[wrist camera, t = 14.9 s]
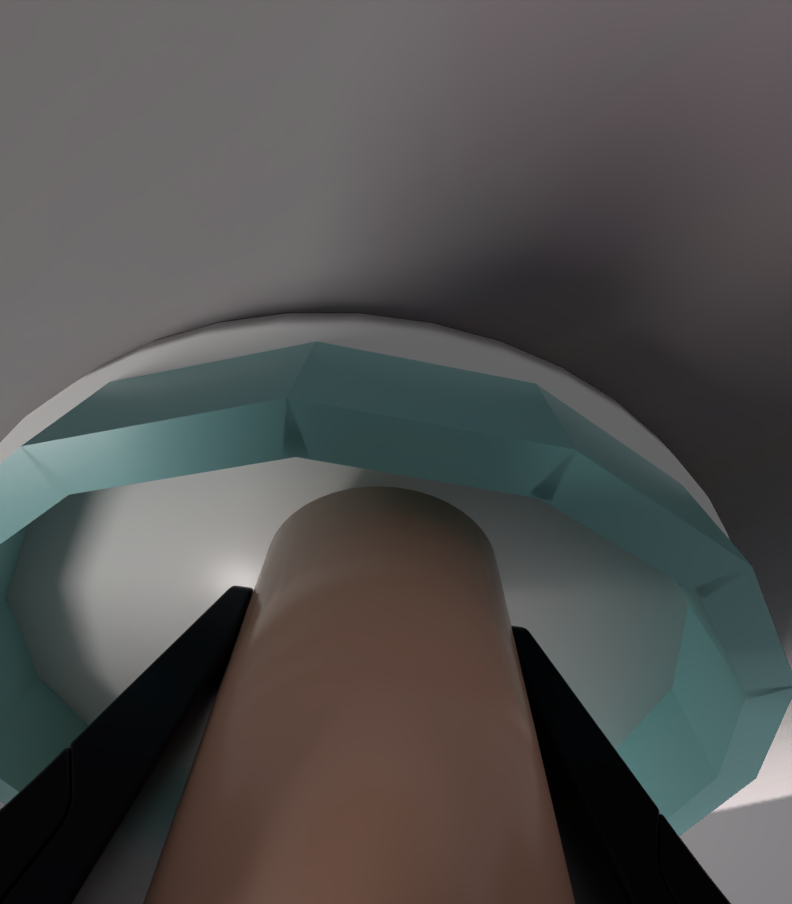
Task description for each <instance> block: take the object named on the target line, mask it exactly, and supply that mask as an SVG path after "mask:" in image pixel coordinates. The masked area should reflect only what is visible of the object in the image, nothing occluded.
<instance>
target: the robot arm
mask: <svg viewBox="0 0 792 904" xmlns="http://www.w3.org/2000/svg"><path fill="white" fill-rule="evenodd" d="M252 594H253V589H252V588H250V587H243V586H232V587H230V588H229V589H228V590H227V591H226V592H225V593H224V594H223V595H222V596H221V597H220V598H219V599H218V600H217V601H216V602H215V603H214V604H213V605H211V606H210V607H209V608H208V609H207V610H206V611H205V612H204V613H203V614H202V615H201V616H200V617H199V618H198V619H197V620H196V621H195V622H194V623H193V624H192V625H191V626H190V627H189V628H188V629H187V630H186V631H185V632H184V633H183V634H182V635H181V636H180V637H179V638H178V639H177V640H176V641H175V642H174V643H173V644H172V645H170V646H169V647H168V648H167V649H166V650H165V651H164V652H163V653H162V654H161V655H160V656H159V657H158V658H157V659H156V660H155V661H154V662H153V663H152V664H151V665H150V666H149V667H148V668H147V669H146V670H145V671H144V672H143V673H142V674H141V675H140V676H139V677H138V678H137V679H136V680H135V681H134V682H133V683H132V684H131V685H130V686H128V687H127V688H126V689H125V690H124V691H123V692H122V693H121V694H120V695H119V696H118V697H117V698H116V699H115V700H114V701H113V702H112V703H111V704H110V705H109V706H108V707H107V708H106V709H105V710H104V711H103V712H102V713H101V714H100V715H99V716H98V717H97V718H96V719H95V720H94V721H93V722H92V723H91V724H90V725H89V726H87V727H86V728H85V729H84V730H83V731H82V732H81V733H80V734H79V735H78V736H77V737H76V738H75V739H74V740H73V741H72V742H71V744H70V748H69V747H67V748H65V749H64V750H63V751H62V752H61V753H60V754H58V755H57V756H56V757H55V758H54V759H53V760H52V761H51V762H50V763H49V764H48V765H47V766H46V767H45V768H44V769H43V770H42V771H41V772H40V773H39V774H38V775H37V776H36V777H35V778H34V779H33V780H32V781H30V782H29V783H28V784H27V785H26V786H25V787H24V788H23V789H22V790H21V791H20V792H19V793H18V794H17V795H15V796H14V797H13V798H12V799H11V800H10V801H9V802H8V803H7V804H6V805H5V806H4V807H3V808H1V809H0V904H143V903H144V900H145V897H146V894H147V891H148V888H149V886H150V883H151V880H152V877H153V874H154V871H155V869H156V866H157V863H158V860H159V857H160V854H161V852H162V849H163V846H164V843H165V840H166V838H167V835H168V832H169V829H170V826H171V823H172V821H173V818H174V815H175V812H176V809H177V806H178V804H179V801H180V798H181V795H182V792H183V789H184V787H185V784H186V781H187V778H188V775H189V772H190V770H191V767H192V764H193V761H194V758H195V755H196V753H197V750H198V747H199V744H200V741H201V738H202V736H203V733H204V730H205V727H206V724H207V722H208V719H209V716H210V713H211V710H212V707H213V705H214V702H215V699H216V696H217V693H218V690H219V688H220V685H221V682H222V679H223V676H224V673H225V671H226V668H227V665H228V662H229V659H230V656H231V654H232V651H233V648H234V645H235V642H236V639H237V637H238V634H239V631H240V628H241V625H242V622H243V620H244V617H245V614H246V611H247V608H248V606H249V603H250V600H251V597H252ZM512 630H513V635H514V639H515V643H516V648H517V652H518V656H519V661H520V665H521V670H522V674H523V678H524V683H525V687H526V691H527V696H528V700H529V704H530V709H531V713H532V717H533V722H534V726H535V730H536V735H537V739H538V743H539V748H540V752H541V756H542V761H543V765H544V769H545V774H546V778H547V782H548V787H549V791H550V795H551V800H552V804H553V808H554V813H555V817H556V821H557V826H558V830H559V835H560V839H561V843H562V848H563V852H564V856H565V861H566V865H567V869H568V874H569V878H570V882H571V887H572V891H573V895H574V900H575V904H731V903H730V902H729V901H728V899H727V898H726V897H725V896H724V894H723V893H722V892H721V891H720V889H719V888H718V887H717V886H716V884H715V883H714V882H713V881H712V879H711V878H710V877H709V876H708V874H707V873H706V872H705V870H704V869H703V868H702V866H701V865H700V864H699V862H698V861H697V860H696V858H695V857H694V856H693V854H692V853H691V852H690V851H689V849H688V848H687V846H686V845H685V844H684V842H683V841H682V840H681V838H680V837H679V836H678V834H677V833H676V832H675V830H674V829H673V827H672V826H671V825H670V823H669V822H668V821H667V819H666V818H665V817H664V815H663V814H659V809H658V807H657V806H656V804H655V803H654V802H653V800H652V799H651V798H650V796H649V795H648V793H647V792H646V791H645V789H644V788H643V787H642V785H641V784H640V783H639V781H638V780H637V778H636V777H635V776H634V774H633V773H632V772H631V770H630V769H629V767H628V766H627V765H626V763H625V762H624V761H623V759H622V758H621V756H620V755H619V754H618V752H617V751H616V750H615V748H614V747H613V745H612V744H611V743H610V741H609V740H608V739H607V737H606V736H605V735H604V733H603V732H602V730H601V729H600V728H599V726H598V725H597V724H596V722H595V721H594V719H593V718H592V717H591V715H590V714H589V713H588V711H587V710H586V708H585V707H584V706H583V704H582V703H581V702H580V700H579V699H578V698H577V696H576V695H575V693H574V692H573V691H572V689H571V688H570V687H569V685H568V684H567V682H566V681H565V680H564V678H563V677H562V676H561V674H560V673H559V671H558V670H557V669H556V667H555V666H554V665H553V663H552V662H551V660H550V659H549V658H548V656H547V655H546V654H545V652H544V651H543V650H542V648H541V647H540V645H539V644H538V643H537V641H536V640H535V639H534V637H533V636H532V634H531V633H530V632H529V631H528V630H527V629H526V628H524V627H518V626H512Z"/></svg>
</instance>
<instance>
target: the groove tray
mask: <svg viewBox="0 0 792 904" xmlns="http://www.w3.org/2000/svg"><path fill="white" fill-rule="evenodd" d="M378 486H384V487H396V488H404V489H409V490H414V491H418V492H422V493H425V494H428V495H431V496H434V497H436V498H439V499H441V500H443V501H445V502H448V503H449V504H451V505H453V506H454V507H456V508H458V509H460V510H461V511H462V512H464V513H465V514H466V515H467V516H469V517H470V518H471V519H472V520H473V521H474V522H475V523H476V524H477V525H478V526H479V527H480V528H481V529H482V530H483V532H484V533H485V535H486V536H487V538H488V539H489V541H490V543H491V545H492V548H493V550H494V553H495V557H496V561H497V565H498V570H499V574H500V578H501V583H502V587H503V591H504V596H505V600H506V604H507V609H508V613H509V617H510V622H511V626H518V627H524V628H526V629H527V630H528V631H529V632H530V633H531V634H532V636H533V637H534V639H535V640H536V641H537V643H538V644H539V645H540V647H541V648H542V650H543V651H544V652H545V654H546V655H547V656H548V658H549V659H550V660H551V662H552V663H553V665H554V666H555V667H556V669H557V670H558V671H559V673H560V674H561V676H562V677H563V678H564V680H565V681H566V682H567V684H568V685H569V687H570V688H571V689H572V691H573V692H574V693H575V695H576V696H577V698H578V699H579V700H580V702H581V703H582V704H583V706H584V707H585V708H586V710H587V711H588V713H589V714H590V715H591V717H592V718H593V719H594V721H595V722H596V724H597V725H598V726H599V728H600V729H601V730H602V732H603V733H604V735H605V736H606V737H607V739H608V740H609V741H610V743H611V744H612V745H613V747H614V748H615V750H616V751H617V752H618V754H619V755H620V756H621V758H622V759H623V761H624V762H625V763H626V765H627V766H628V767H629V769H630V770H631V772H632V773H633V774H634V776H635V777H636V778H637V780H638V781H639V783H640V784H641V785H642V787H643V788H644V789H645V791H646V792H647V793H648V795H649V796H650V798H651V799H652V800H653V802H654V803H655V804H656V806H657V807H658V809H659V814H663V815H664V817H665V818H666V819H667V821H668V822H669V823H670V825H671V826H672V827H673V829H674V830H675V832H676V833H677V834H678V836H680V835H681V834H683V833H684V832H685V831H687V830H688V829H689V828H691V827H692V826H693V825H695V824H696V823H697V822H699V821H700V820H701V819H703V818H704V817H705V816H707V815H708V814H709V813H711V812H712V811H713V810H715V809H716V808H717V807H719V806H720V805H721V804H723V803H724V802H725V801H726V800H728V799H729V798H730V797H732V796H733V795H734V794H736V793H737V792H738V791H740V790H741V789H742V788H744V787H745V786H746V785H748V784H749V783H750V782H752V781H753V780H754V779H756V777H757V775H758V773H759V770H760V768H761V766H762V764H763V761H764V759H765V757H766V755H767V752H768V750H769V748H770V746H771V743H772V741H773V739H774V737H775V734H776V732H777V730H778V728H779V725H780V723H781V721H782V719H783V716H784V714H785V712H786V710H787V707H788V705H789V703H790V701H791V699H792V671H791V668H790V666H789V663H788V660H787V658H786V655H785V652H784V650H783V647H782V644H781V642H780V639H779V636H778V634H777V631H776V628H775V626H774V623H773V620H772V618H771V615H770V612H769V610H768V607H767V604H766V602H765V599H764V596H763V594H762V591H761V588H760V586H759V583H758V580H757V577H756V575H755V572H754V569H753V566H752V565H751V564H750V563H749V562H748V561H747V559H746V558H745V557H744V556H743V555H742V554H741V553H740V551H739V550H738V549H737V548H736V547H735V546H734V544H733V543H732V542H731V541H730V539H729V536H728V534H727V532H726V530H725V528H724V526H723V524H722V522H721V520H720V519H719V517H718V515H717V513H716V511H715V509H714V507H713V505H712V503H711V501H710V500H709V498H708V496H707V495H706V494H705V492H704V491H703V490H702V489H701V487H700V486H699V485H698V484H697V483H696V481H695V480H694V479H693V478H692V476H691V475H690V474H689V473H688V472H687V470H686V469H685V468H684V467H683V465H682V464H681V463H680V462H679V461H678V459H677V458H676V457H675V456H674V455H673V454H672V453H671V452H670V450H669V449H668V448H667V447H666V446H665V445H664V444H663V443H662V442H661V441H660V440H659V439H658V437H657V436H656V435H655V434H654V433H652V432H651V431H650V430H649V429H648V428H647V427H645V426H644V425H643V424H642V423H641V422H640V421H638V420H637V419H636V418H635V417H634V416H633V415H631V414H630V413H629V412H628V411H627V410H626V409H624V408H623V407H622V406H621V405H620V404H619V403H617V402H616V401H615V400H614V399H613V398H611V397H609V396H608V395H606V394H604V393H603V392H601V391H599V390H598V389H596V388H595V387H593V386H591V385H590V384H588V383H586V382H585V381H583V380H581V379H580V378H578V377H577V376H575V375H573V374H572V373H570V372H568V371H567V370H565V369H563V368H562V367H560V366H557V365H555V364H553V363H550V362H548V361H546V360H543V359H541V358H538V357H536V356H534V355H531V354H529V353H527V352H524V351H522V350H520V349H517V348H515V347H512V346H510V345H508V344H505V343H503V342H501V341H497V340H494V339H490V338H486V337H483V336H479V335H475V334H471V333H468V332H464V331H460V330H457V329H453V328H449V327H445V326H442V325H438V324H434V323H429V322H422V321H414V320H407V319H399V318H392V317H384V316H376V315H369V314H361V313H286V314H278V315H271V316H264V317H256V318H249V319H241V320H234V321H227V322H219V323H215V324H211V325H208V326H204V327H201V328H197V329H194V330H190V331H187V332H183V333H180V334H176V335H173V336H169V337H166V338H162V339H159V340H155V341H153V342H151V343H149V344H146V345H144V346H142V347H140V348H138V349H136V350H133V351H131V352H129V353H127V354H125V355H123V356H120V357H118V358H116V359H114V360H112V361H110V362H108V363H105V364H103V365H101V366H99V367H98V368H96V369H95V370H93V371H92V372H90V373H88V374H87V375H85V376H84V377H82V378H81V379H79V380H78V381H76V382H75V383H73V384H72V385H70V386H69V387H67V388H66V389H64V390H63V391H61V392H60V393H59V394H57V395H56V396H54V397H53V398H51V399H50V400H49V401H47V402H46V403H44V404H43V405H41V406H40V407H38V408H37V409H36V410H34V411H33V412H31V413H30V414H28V415H27V416H26V417H24V418H23V420H22V421H21V422H20V423H19V424H18V425H17V426H16V427H15V428H14V429H13V430H12V431H11V432H10V433H9V434H8V435H7V436H6V437H5V438H4V439H3V440H2V441H1V443H0V801H1V802H2V803H4V804H5V805H6V804H7V803H8V802H9V801H10V800H11V799H12V798H13V797H14V796H15V795H17V794H18V793H19V792H20V791H21V790H22V789H23V788H24V787H25V786H26V785H27V784H28V783H29V782H30V781H32V780H33V779H34V778H35V777H36V776H37V775H38V774H39V773H40V772H41V771H42V770H43V769H44V768H45V767H46V766H47V765H48V764H49V763H50V762H51V761H52V760H53V759H54V758H55V757H56V756H57V755H58V754H60V753H61V752H62V751H63V750H64V749H65V748H67V747H69V748H70V744H71V742H72V741H73V740H74V739H75V738H76V737H77V736H78V735H79V734H80V733H81V732H82V731H83V730H84V729H85V728H86V727H87V726H89V725H90V724H91V723H92V722H93V721H94V720H95V719H96V718H97V717H98V716H99V715H100V714H101V713H102V712H103V711H104V710H105V709H106V708H107V707H108V706H109V705H110V704H111V703H112V702H113V701H114V700H115V699H116V698H117V697H118V696H119V695H120V694H121V693H122V692H123V691H124V690H125V689H126V688H127V687H128V686H130V685H131V684H132V683H133V682H134V681H135V680H136V679H137V678H138V677H139V676H140V675H141V674H142V673H143V672H144V671H145V670H146V669H147V668H148V667H149V666H150V665H151V664H152V663H153V662H154V661H155V660H156V659H157V658H158V657H159V656H160V655H161V654H162V653H163V652H164V651H165V650H166V649H167V648H168V647H169V646H170V645H172V644H173V643H174V642H175V641H176V640H177V639H178V638H179V637H180V636H181V635H182V634H183V633H184V632H185V631H186V630H187V629H188V628H189V627H190V626H191V625H192V624H193V623H194V622H195V621H196V620H197V619H198V618H199V617H200V616H201V615H202V614H203V613H204V612H205V611H206V610H207V609H208V608H209V607H210V606H211V605H213V604H214V603H215V602H216V601H217V600H218V599H219V598H220V597H221V596H222V595H223V594H224V593H225V592H226V591H227V590H228V589H229V588H230V587H232V586H243V587H250V588H252V589H253V591H254V589H255V586H256V583H257V580H258V577H259V574H260V572H261V569H262V566H263V563H264V560H265V557H266V555H267V552H268V549H269V546H270V543H271V541H272V539H273V537H274V535H275V533H276V532H277V530H278V529H279V528H280V527H281V525H282V524H283V523H284V522H285V521H286V520H287V519H288V518H289V517H290V516H291V515H292V514H293V513H294V512H296V511H297V510H299V509H300V508H301V507H303V506H304V505H306V504H308V503H310V502H312V501H314V500H316V499H318V498H320V497H323V496H326V495H328V494H331V493H334V492H338V491H342V490H347V489H352V488H360V487H378Z"/></svg>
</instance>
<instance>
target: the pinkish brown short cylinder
mask: <svg viewBox="0 0 792 904" xmlns="http://www.w3.org/2000/svg"><path fill="white" fill-rule="evenodd" d="M143 904H575V900H574V895H573V891H572V887H571V882H570V878H569V874H568V869H567V865H566V861H565V856H564V852H563V848H562V843H561V839H560V835H559V830H558V826H557V821H556V817H555V813H554V808H553V804H552V800H551V795H550V791H549V787H548V782H547V778H546V774H545V769H544V765H543V761H542V756H541V752H540V748H539V743H538V739H537V735H536V730H535V726H534V722H533V717H532V713H531V709H530V704H529V700H528V696H527V691H526V687H525V683H524V678H523V674H522V670H521V665H520V661H519V656H518V652H517V648H516V643H515V639H514V635H513V630H512V626H511V622H510V617H509V613H508V609H507V604H506V600H505V596H504V591H503V587H502V583H501V578H500V574H499V570H498V565H497V561H496V557H495V553H494V550H493V548H492V545H491V543H490V541H489V539H488V538H487V536H486V535H485V533H484V532H483V530H482V529H481V528H480V527H479V526H478V525H477V524H476V523H475V522H474V521H473V520H472V519H471V518H470V517H469V516H467V515H466V514H465V513H464V512H462V511H461V510H460V509H458V508H456V507H454V506H453V505H451V504H449V503H448V502H445V501H443V500H441V499H439V498H436V497H434V496H431V495H428V494H425V493H422V492H418V491H414V490H409V489H404V488H396V487H384V486H378V487H360V488H352V489H347V490H342V491H338V492H334V493H331V494H328V495H326V496H323V497H320V498H318V499H316V500H314V501H312V502H310V503H308V504H306V505H304V506H303V507H301V508H300V509H299V510H297V511H296V512H294V513H293V514H292V515H291V516H290V517H289V518H288V519H287V520H286V521H285V522H284V523H283V524H282V525H281V527H280V528H279V529H278V530H277V532H276V533H275V535H274V537H273V539H272V541H271V543H270V546H269V549H268V552H267V555H266V557H265V560H264V563H263V566H262V569H261V572H260V574H259V577H258V580H257V583H256V586H255V589H254V591H253V594H252V597H251V600H250V603H249V606H248V608H247V611H246V614H245V617H244V620H243V622H242V625H241V628H240V631H239V634H238V637H237V639H236V642H235V645H234V648H233V651H232V654H231V656H230V659H229V662H228V665H227V668H226V671H225V673H224V676H223V679H222V682H221V685H220V688H219V690H218V693H217V696H216V699H215V702H214V705H213V707H212V710H211V713H210V716H209V719H208V722H207V724H206V727H205V730H204V733H203V736H202V738H201V741H200V744H199V747H198V750H197V753H196V755H195V758H194V761H193V764H192V767H191V770H190V772H189V775H188V778H187V781H186V784H185V787H184V789H183V792H182V795H181V798H180V801H179V804H178V806H177V809H176V812H175V815H174V818H173V821H172V823H171V826H170V829H169V832H168V835H167V838H166V840H165V843H164V846H163V849H162V852H161V854H160V857H159V860H158V863H157V866H156V869H155V871H154V874H153V877H152V880H151V883H150V886H149V888H148V891H147V894H146V897H145V900H144V903H143Z"/></svg>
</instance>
